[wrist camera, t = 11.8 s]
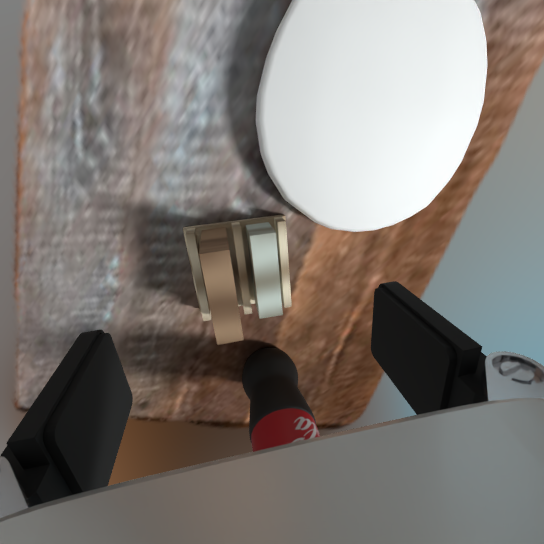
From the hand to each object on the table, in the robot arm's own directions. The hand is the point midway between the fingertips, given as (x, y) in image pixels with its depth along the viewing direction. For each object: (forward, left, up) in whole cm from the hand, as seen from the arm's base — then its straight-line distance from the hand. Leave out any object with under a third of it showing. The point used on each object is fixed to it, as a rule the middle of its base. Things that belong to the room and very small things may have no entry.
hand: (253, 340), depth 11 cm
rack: (+9, +1, -30) cm, 31 cm away
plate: (-8, +18, -31) cm, 36 cm away
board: (+9, -2, -29) cm, 30 cm away
